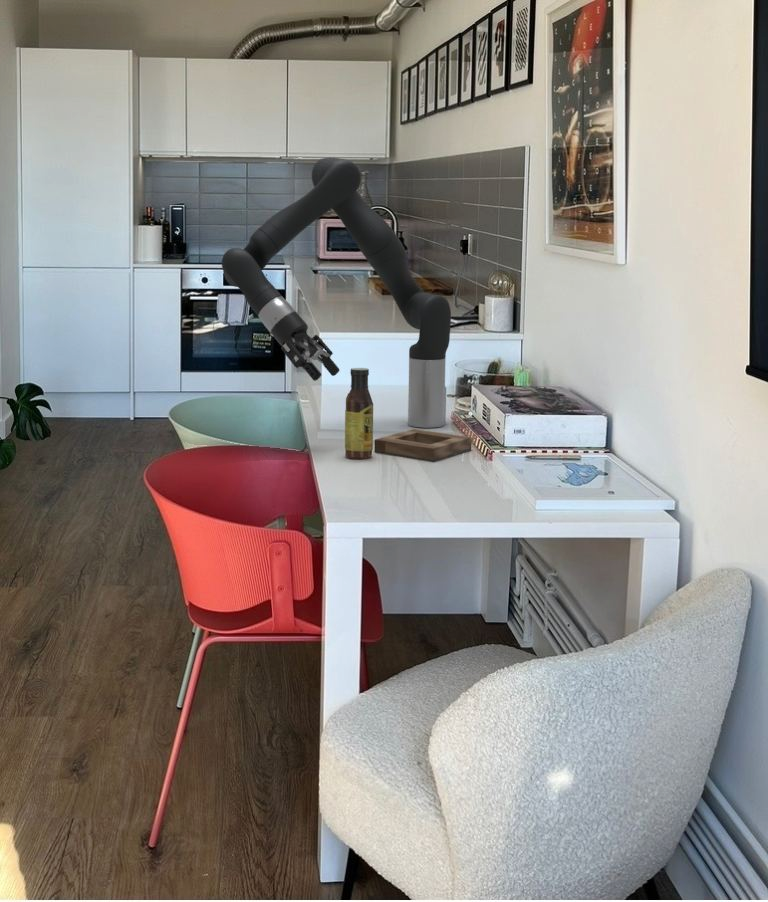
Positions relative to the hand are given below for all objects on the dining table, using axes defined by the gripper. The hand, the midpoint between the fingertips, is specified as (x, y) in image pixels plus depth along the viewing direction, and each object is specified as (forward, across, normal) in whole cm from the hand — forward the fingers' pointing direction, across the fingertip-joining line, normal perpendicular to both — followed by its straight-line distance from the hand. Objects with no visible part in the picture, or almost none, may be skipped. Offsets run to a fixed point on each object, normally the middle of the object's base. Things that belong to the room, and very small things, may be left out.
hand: (327, 375), depth 270 cm
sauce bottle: (+18, 0, +7) cm, 20 cm away
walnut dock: (+25, +12, 0) cm, 28 cm away
